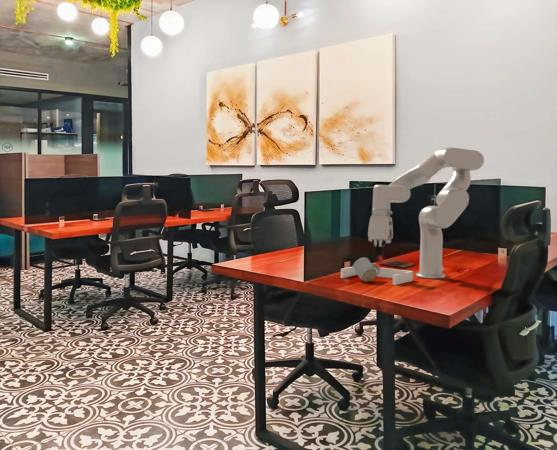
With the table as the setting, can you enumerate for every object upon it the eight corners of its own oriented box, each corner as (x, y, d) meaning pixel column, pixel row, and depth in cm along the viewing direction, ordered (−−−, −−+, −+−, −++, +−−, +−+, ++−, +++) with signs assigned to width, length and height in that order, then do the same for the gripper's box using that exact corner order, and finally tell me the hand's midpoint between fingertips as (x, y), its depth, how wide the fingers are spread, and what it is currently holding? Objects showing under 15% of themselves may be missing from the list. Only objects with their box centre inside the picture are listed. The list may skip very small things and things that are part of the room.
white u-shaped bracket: (359, 274, 234) (360, 265, 234) (413, 280, 216) (413, 271, 216) (340, 277, 222) (340, 268, 222) (395, 285, 205) (395, 275, 205)
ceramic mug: (362, 285, 212) (362, 273, 207) (352, 273, 218) (352, 260, 213) (384, 276, 214) (384, 263, 209) (374, 264, 220) (374, 251, 215)
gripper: (400, 214, 218) (398, 256, 219) (370, 212, 228) (368, 253, 229) (392, 214, 212) (389, 257, 213) (361, 212, 222) (359, 254, 223)
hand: (378, 255), depth 221 cm, fingers closed
